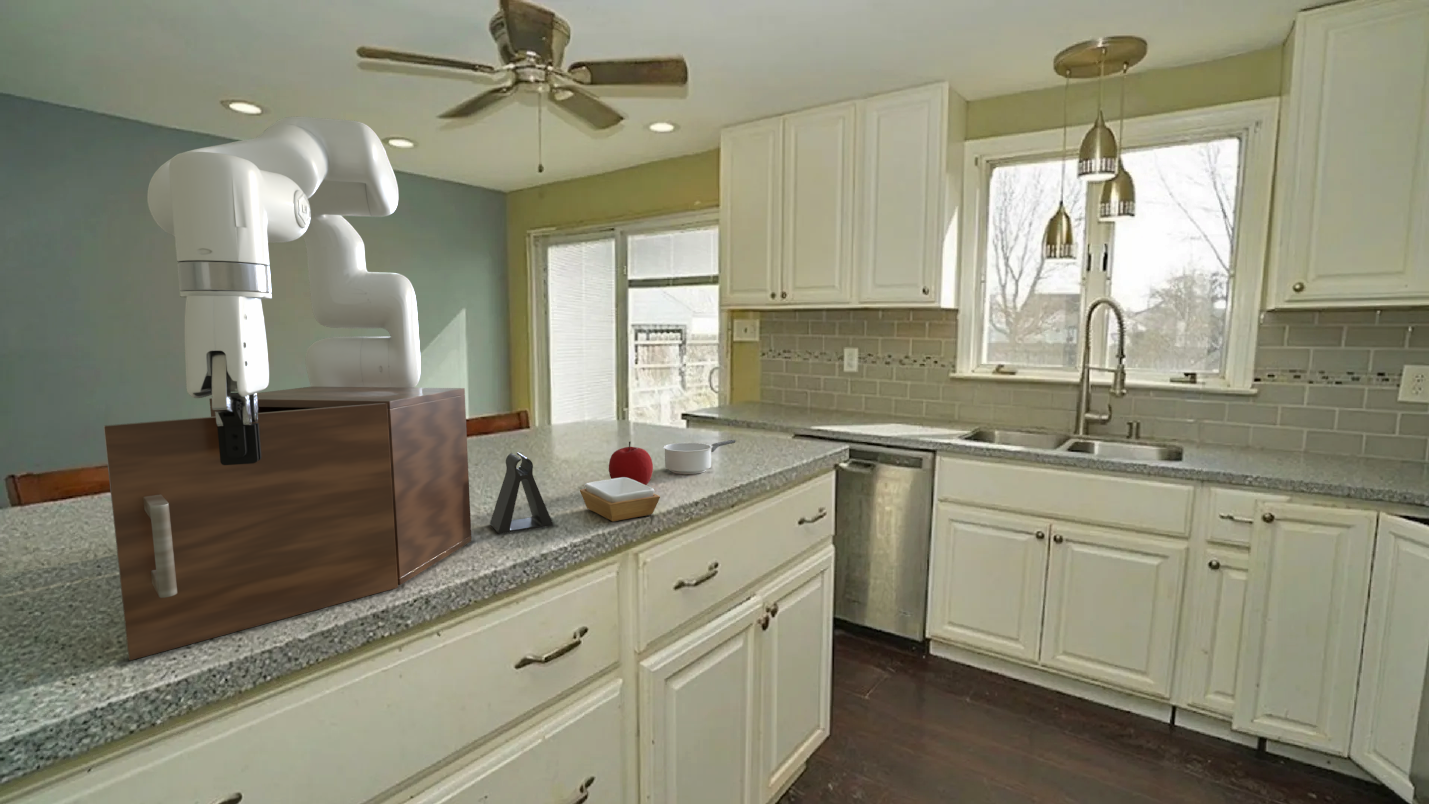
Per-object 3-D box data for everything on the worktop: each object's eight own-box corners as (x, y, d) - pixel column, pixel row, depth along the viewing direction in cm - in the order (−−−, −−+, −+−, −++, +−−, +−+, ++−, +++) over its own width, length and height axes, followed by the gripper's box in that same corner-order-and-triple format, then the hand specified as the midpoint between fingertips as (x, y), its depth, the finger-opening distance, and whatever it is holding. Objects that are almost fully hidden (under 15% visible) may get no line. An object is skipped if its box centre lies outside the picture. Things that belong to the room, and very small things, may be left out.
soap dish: (579, 509, 122) (578, 482, 122) (627, 501, 128) (626, 475, 127) (610, 525, 112) (609, 496, 112) (660, 516, 118) (660, 487, 117)
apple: (662, 486, 139) (661, 439, 138) (634, 496, 132) (633, 446, 131) (628, 481, 144) (627, 435, 143) (599, 490, 137) (598, 441, 136)
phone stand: (497, 534, 108) (494, 461, 106) (489, 525, 113) (486, 455, 111) (553, 526, 112) (550, 455, 111) (542, 517, 117) (540, 450, 116)
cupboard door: (415, 599, 82) (405, 406, 79) (136, 681, 63) (109, 432, 60) (395, 585, 86) (384, 402, 83) (128, 657, 67) (103, 425, 65)
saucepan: (749, 465, 160) (750, 442, 159) (683, 478, 147) (683, 453, 147) (718, 458, 169) (718, 436, 168) (653, 469, 156) (653, 446, 155)
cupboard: (400, 585, 86) (389, 401, 84) (224, 574, 91) (209, 398, 88) (471, 541, 104) (464, 388, 101) (322, 534, 108) (311, 386, 106)
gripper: (207, 287, 73) (221, 453, 75) (149, 277, 59) (168, 481, 61) (287, 288, 76) (298, 448, 78) (249, 279, 62) (265, 474, 64)
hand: (241, 462), depth 69 cm, fingers closed
